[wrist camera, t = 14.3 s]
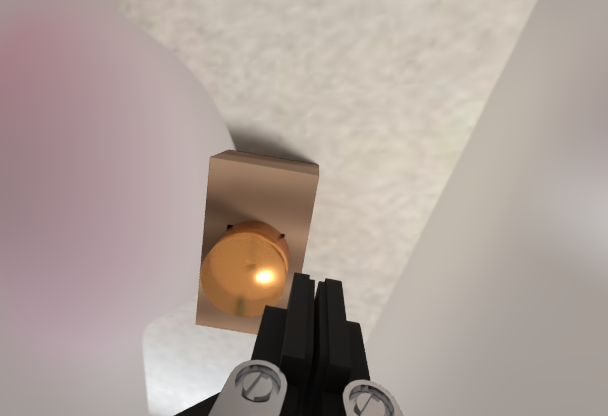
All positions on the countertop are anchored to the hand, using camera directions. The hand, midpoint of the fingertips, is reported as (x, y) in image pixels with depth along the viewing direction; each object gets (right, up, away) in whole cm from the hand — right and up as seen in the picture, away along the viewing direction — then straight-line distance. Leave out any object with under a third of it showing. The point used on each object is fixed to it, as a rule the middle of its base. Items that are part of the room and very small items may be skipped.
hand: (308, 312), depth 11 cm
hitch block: (-4, +1, +23) cm, 24 cm away
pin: (-4, +1, +23) cm, 23 cm away
